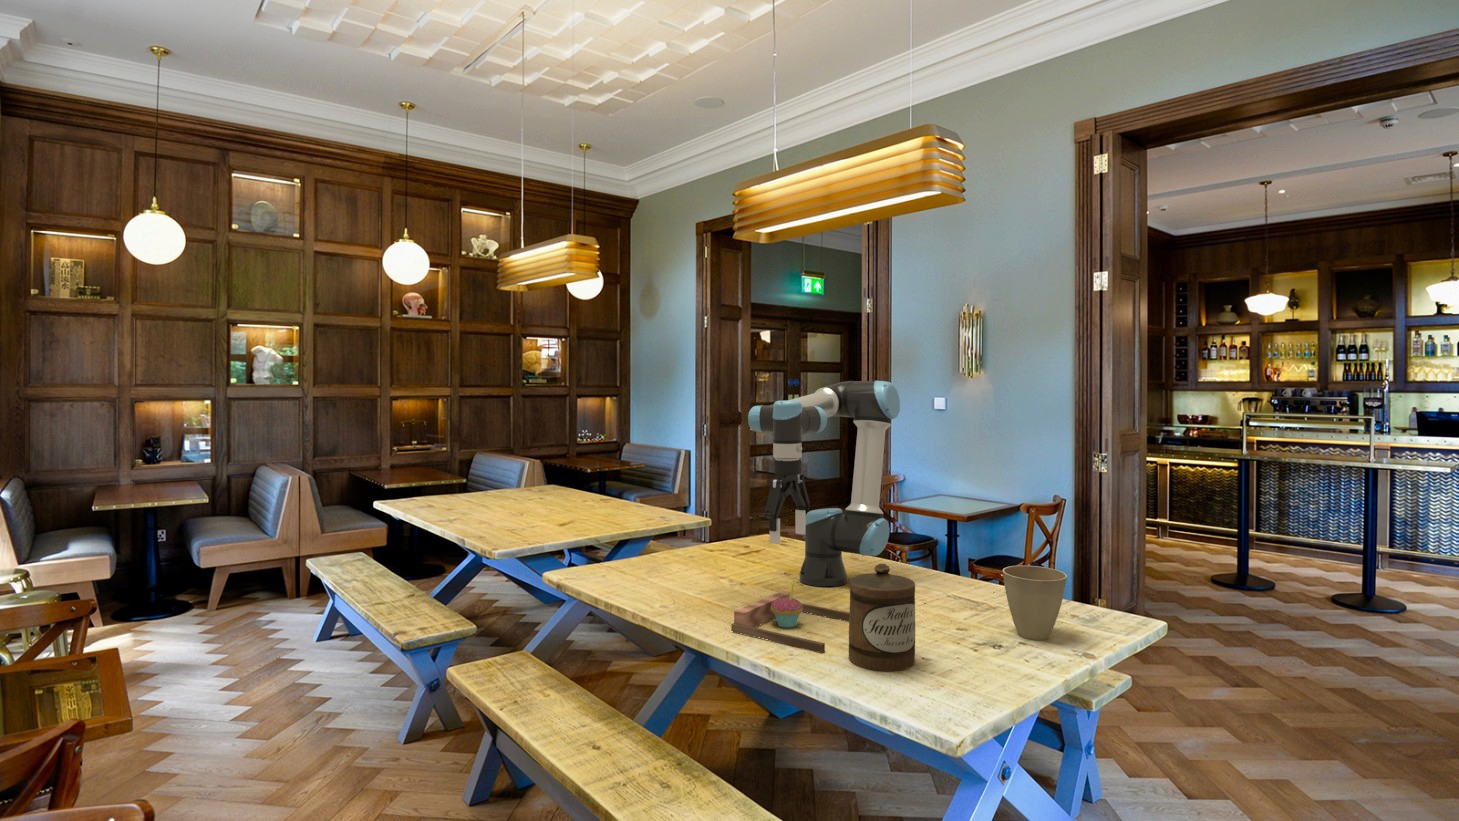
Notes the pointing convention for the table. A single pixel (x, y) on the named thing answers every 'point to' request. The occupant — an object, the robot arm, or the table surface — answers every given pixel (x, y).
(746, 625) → the brown wooden open frame
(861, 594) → the wooden container
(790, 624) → the cupcake
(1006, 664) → the table surface
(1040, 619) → the plant pot
